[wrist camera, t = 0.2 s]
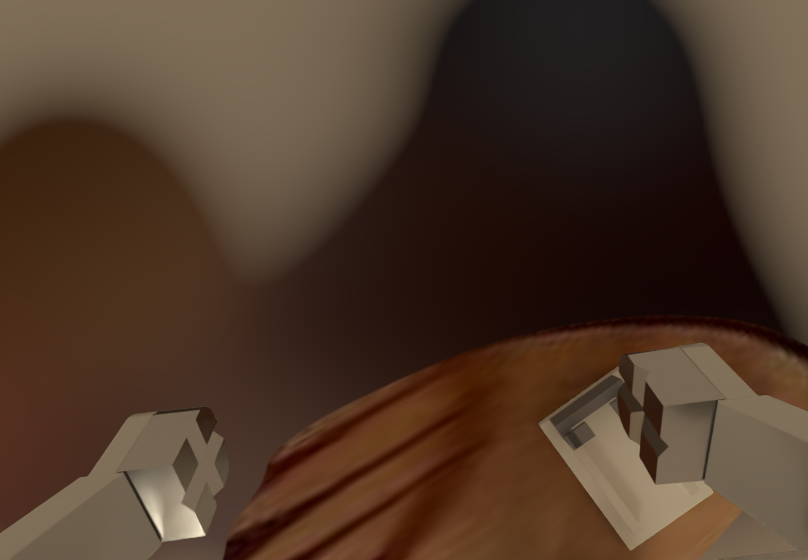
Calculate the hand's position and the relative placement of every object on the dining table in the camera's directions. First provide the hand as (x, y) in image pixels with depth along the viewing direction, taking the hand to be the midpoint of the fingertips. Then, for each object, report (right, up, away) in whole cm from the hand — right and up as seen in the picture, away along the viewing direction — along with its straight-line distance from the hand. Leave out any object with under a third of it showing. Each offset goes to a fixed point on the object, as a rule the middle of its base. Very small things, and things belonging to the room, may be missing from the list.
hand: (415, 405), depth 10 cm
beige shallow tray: (+26, -19, +52) cm, 62 cm away
